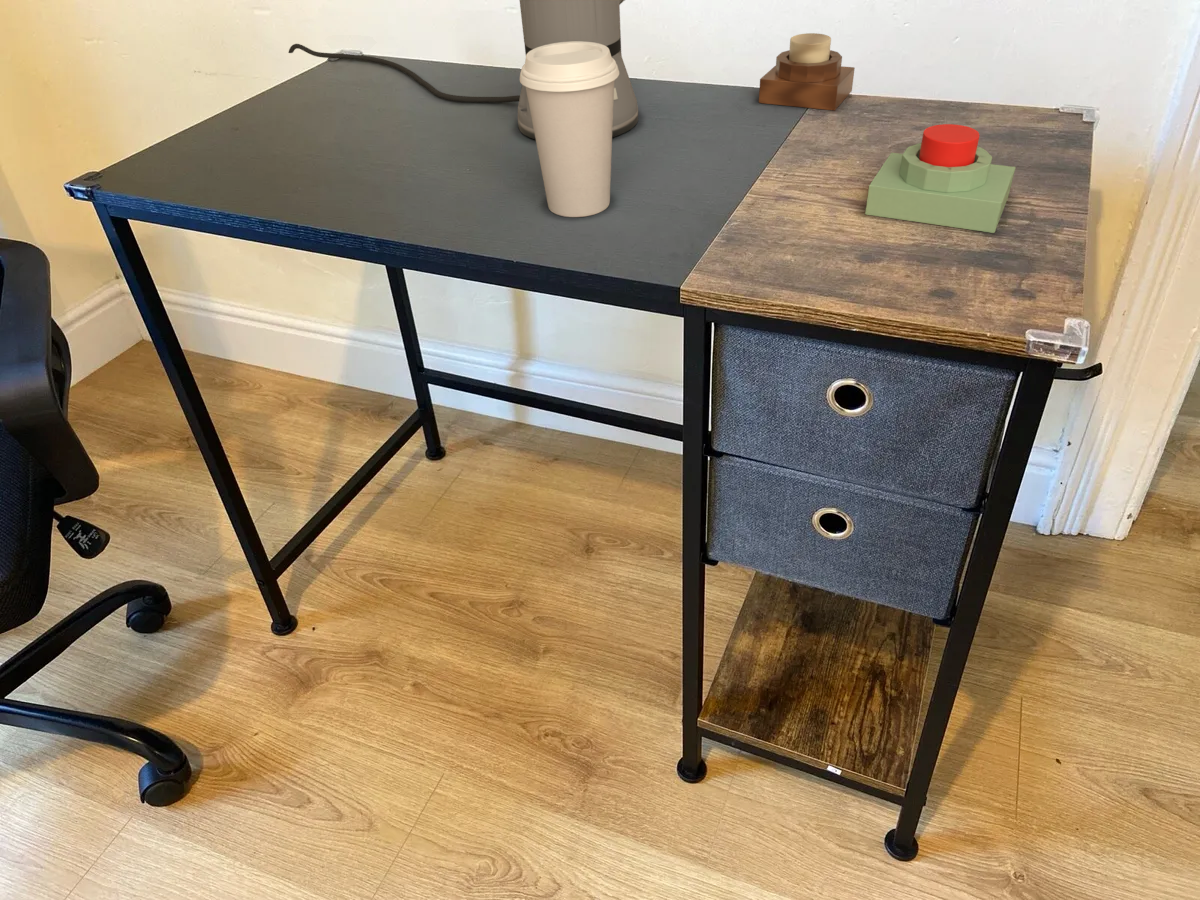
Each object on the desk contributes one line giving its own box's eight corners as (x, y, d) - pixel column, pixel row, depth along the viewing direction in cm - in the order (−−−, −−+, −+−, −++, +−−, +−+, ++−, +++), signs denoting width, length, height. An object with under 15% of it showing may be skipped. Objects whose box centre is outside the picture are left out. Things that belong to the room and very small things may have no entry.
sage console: (864, 214, 86) (871, 164, 83) (886, 180, 92) (894, 132, 89) (994, 233, 81) (1007, 181, 78) (1008, 196, 87) (1020, 146, 84)
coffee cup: (627, 185, 95) (622, 37, 86) (620, 223, 88) (613, 66, 78) (541, 186, 96) (526, 40, 87) (526, 224, 89) (508, 69, 79)
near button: (913, 165, 83) (918, 139, 82) (924, 147, 87) (929, 121, 85) (969, 172, 81) (974, 145, 80) (978, 153, 85) (983, 127, 83)
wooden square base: (758, 103, 113) (760, 62, 110) (778, 84, 119) (781, 45, 116) (834, 110, 110) (839, 68, 106) (851, 91, 115) (856, 50, 112)
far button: (783, 63, 111) (785, 42, 109) (795, 53, 114) (797, 32, 112) (822, 67, 109) (824, 45, 107) (833, 55, 112) (835, 34, 110)
